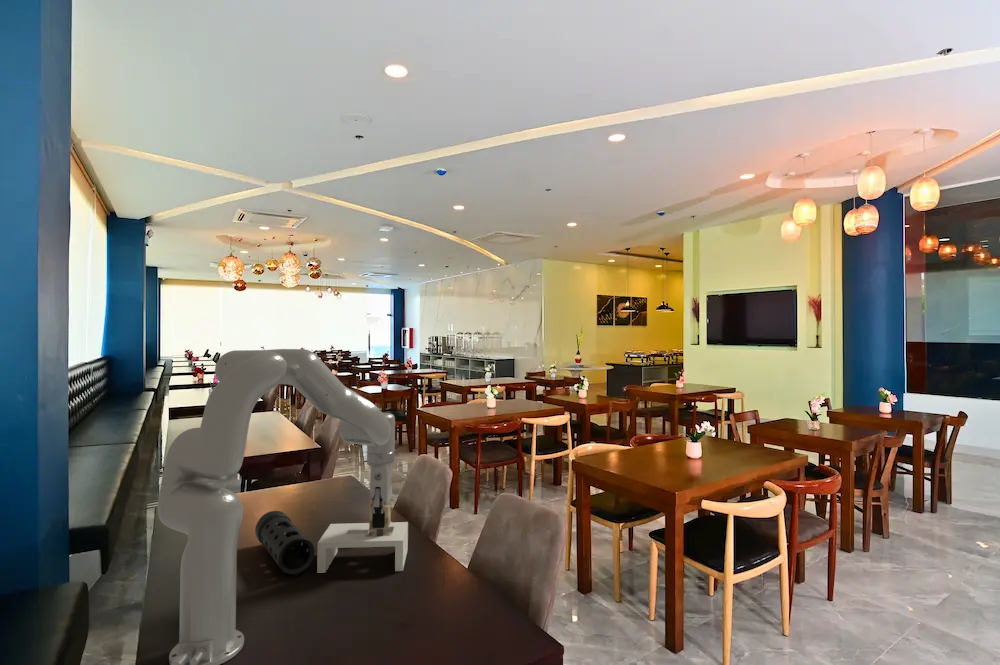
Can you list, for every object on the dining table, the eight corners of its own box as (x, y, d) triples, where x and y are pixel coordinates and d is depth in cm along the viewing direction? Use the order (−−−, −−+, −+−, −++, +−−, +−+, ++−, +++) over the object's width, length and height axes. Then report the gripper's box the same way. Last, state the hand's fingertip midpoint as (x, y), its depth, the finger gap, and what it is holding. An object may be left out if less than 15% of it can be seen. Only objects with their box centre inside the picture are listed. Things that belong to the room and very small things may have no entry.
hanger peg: (387, 548, 139) (388, 506, 139) (369, 548, 138) (369, 507, 139) (390, 541, 144) (390, 501, 144) (372, 541, 143) (372, 501, 144)
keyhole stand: (402, 571, 135) (403, 540, 135) (317, 573, 133) (317, 542, 133) (407, 549, 149) (407, 522, 149) (330, 551, 147) (330, 523, 147)
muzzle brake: (276, 583, 128) (277, 541, 128) (253, 547, 150) (253, 512, 150) (315, 573, 133) (316, 533, 134) (287, 540, 156) (287, 506, 156)
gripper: (390, 464, 134) (389, 535, 133) (398, 451, 151) (397, 513, 150) (361, 465, 133) (360, 535, 132) (372, 451, 150) (371, 514, 149)
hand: (380, 523), depth 141 cm, fingers closed on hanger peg, 5 cm apart
